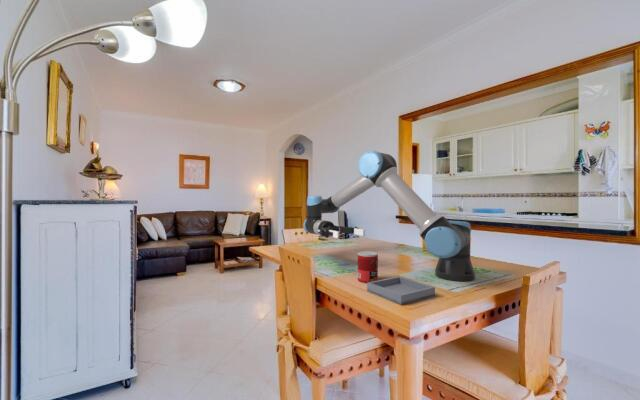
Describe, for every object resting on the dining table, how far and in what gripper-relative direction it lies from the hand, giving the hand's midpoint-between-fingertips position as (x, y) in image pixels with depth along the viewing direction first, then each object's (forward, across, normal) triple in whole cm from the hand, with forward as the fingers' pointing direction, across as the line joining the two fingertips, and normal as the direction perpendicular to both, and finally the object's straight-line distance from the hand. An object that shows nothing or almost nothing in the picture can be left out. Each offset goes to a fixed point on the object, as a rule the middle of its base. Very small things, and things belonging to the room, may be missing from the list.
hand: (351, 233), depth 128 cm
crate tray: (+28, 0, -17) cm, 33 cm away
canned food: (+10, 0, -18) cm, 20 cm away
